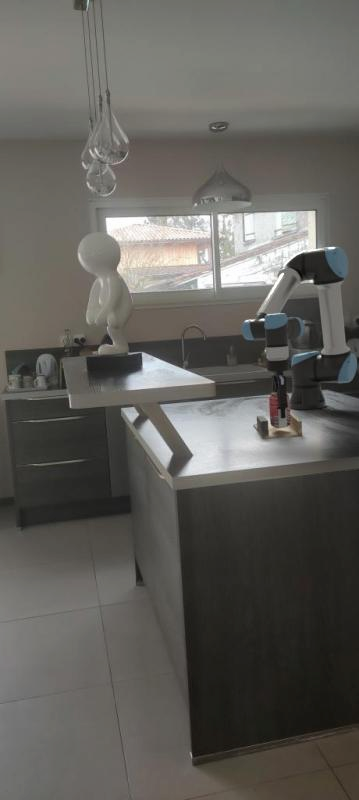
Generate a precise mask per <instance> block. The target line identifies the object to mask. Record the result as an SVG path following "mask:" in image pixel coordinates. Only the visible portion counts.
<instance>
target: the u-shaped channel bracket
mask: <svg viewBox="0 0 359 800" xmlns="http://www.w3.org/2000/svg"><path fill="white" fill-rule="evenodd" d="M290 414H291V423H290V425H289V426H288V427H285V428H275V427H273V426H272V425H271V422H269V420H268V419H267V418H266V416H264V415H256V423H253V427H254V429H255V430H256V431H257V433H258V435H260V437H261V439H262V440H264V439H265V440H266V439H276V438H277V439H278V438H279V439H280V438H289V437H290V438H292V437H302V436H303V421H302V420H301V419H299V417H297V415H295V414H294V413H293V412H292V411H290Z"/></svg>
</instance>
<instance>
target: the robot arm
mask: <svg viewBox="0 0 359 800" xmlns="http://www.w3.org/2000/svg"><path fill="white" fill-rule="evenodd" d="M348 273H349V261H348V256H347V254H346V252H345V251H344V249H343V248H342V247H339V246H327V247H321V248H314V249H305V250H302V251H299V252H297V253H295V254H294V255H291V257H290V258H289V259H288V260H286V262H285V263H284V264H283V265H282V266H281V267H280V269H279V270H278V273H277V279H276V280H275V282H274V284H273V286H272V287H271V288H270V290H269V292H268V294H267V296H266V297H265V299H264V300H263V302H262V303H261V305H260V307H259V309H258V310H257V311H256V314H255V315H254V316H253V318H252V319H251V318H249V319H246V320H244V321H243V323H242V325H241V334H242V336H243V339H245V340H247V341H265V350H264V354H266V359H267V360H266V371H268V372H270V373H272V374H271V389H272V391H271V392H277V396H278V405H279V407H277V409H278V418H279V428H283V427H287V411H286V408H287V407H288V405H287V394H288V393H287V392H288V391H287V378H286V376H285V375H284V372H286V371H289V370H290V368H291V377H292V378H291V379H292V380H291V381H292V391H291V395H290V397H289V398H290V409H293V410H299V411H300V410H301V411H302V410H303V411H306V410H318V409H322V408H325V407H326V402H327V401H326V398H325V395H324V393H323V391H322V384H323V383H328V384H329V383H331V384H346V383H350V382H352V381H353V379H354V377H355V375H356V372H357V366H358V359H357V356H356V354H354V353H352V352H351V348H350V347H349V346H348V345H347V343H346V332H345V323H344V312H343V300H342V289H341V285H342V284H343V283H344V281H345V279H344V278H345V277H347V276H348ZM305 281H312V282H313V283H312V284H313V286H314V287H315V288H317V293H318V303H319V312H320V313H319V314H320V320H321V330H322V340H323V341H322V342H323V348H322V349H321V350H313V351H308V352H301V353H298V354H294V355H292V357H291V365H290V360H289V357H290V355H289V353H290V351H289V340H295V339H297V338H300V337H302V336H303V334H304V333H305V330H306V325H305V323H304V320H303V319H301V317H296V316H289V317H288V315H287V314H286V313H284V312H283V313H282V310H283V309H284V307H285V305H286V303H287V302H288V300H289V298H290V296H291V295H292V293H293V291H294V289H296V288H297V287H299V286H300V284H301V283H302V282H305ZM286 391H287V392H286Z"/></svg>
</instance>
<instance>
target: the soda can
mask: <svg viewBox="0 0 359 800" xmlns="http://www.w3.org/2000/svg"><path fill="white" fill-rule="evenodd" d="M286 392H287V405H288V407H287V408H286V411H287V427H288V426H289V425H290V423H291V414H290V412H291V408H290V398H291V397H290V395H289V394H288V391H287V390H286ZM268 399H269V400H268V404H269V405H268V407H269V419H270V422H269V423H271V425H272V426H273V427H275V428H279V418H278V409H277V407H279V405H278V396H277V392H272V391H271V392H270V395H269V398H268ZM283 428H285V427H283Z"/></svg>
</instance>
